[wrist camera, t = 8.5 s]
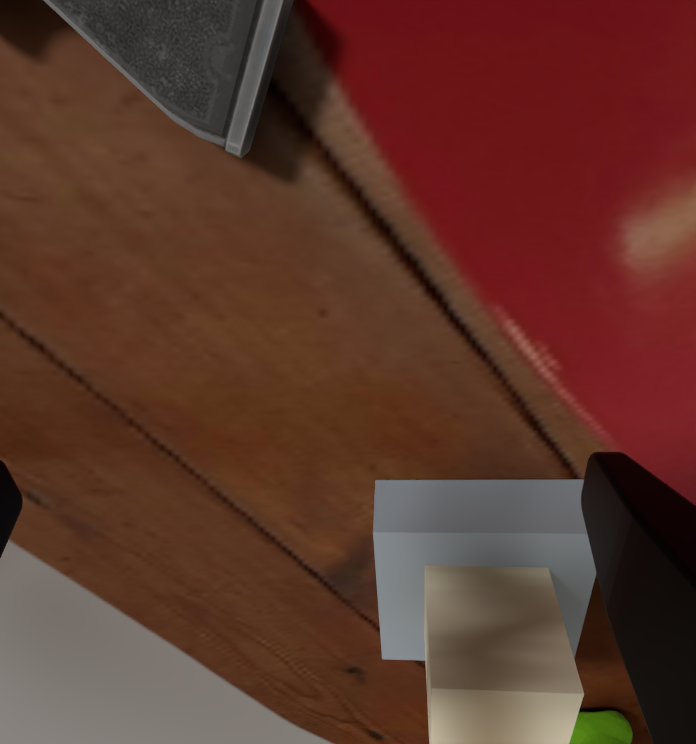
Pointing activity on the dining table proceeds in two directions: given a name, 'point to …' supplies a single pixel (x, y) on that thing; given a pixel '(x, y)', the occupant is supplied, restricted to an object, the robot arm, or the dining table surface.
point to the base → (475, 545)
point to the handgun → (191, 57)
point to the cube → (497, 657)
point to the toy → (601, 728)
